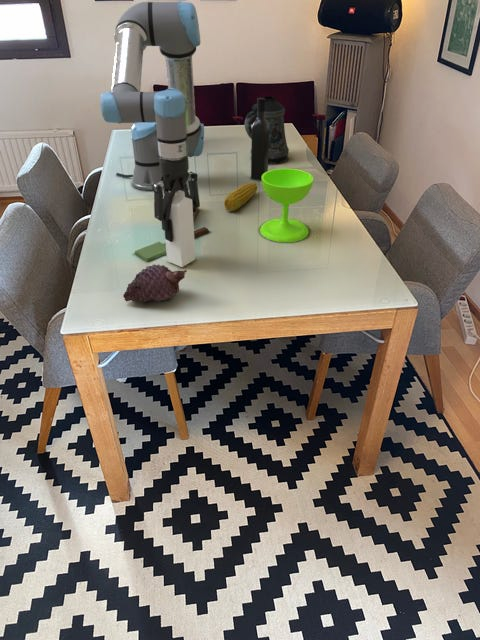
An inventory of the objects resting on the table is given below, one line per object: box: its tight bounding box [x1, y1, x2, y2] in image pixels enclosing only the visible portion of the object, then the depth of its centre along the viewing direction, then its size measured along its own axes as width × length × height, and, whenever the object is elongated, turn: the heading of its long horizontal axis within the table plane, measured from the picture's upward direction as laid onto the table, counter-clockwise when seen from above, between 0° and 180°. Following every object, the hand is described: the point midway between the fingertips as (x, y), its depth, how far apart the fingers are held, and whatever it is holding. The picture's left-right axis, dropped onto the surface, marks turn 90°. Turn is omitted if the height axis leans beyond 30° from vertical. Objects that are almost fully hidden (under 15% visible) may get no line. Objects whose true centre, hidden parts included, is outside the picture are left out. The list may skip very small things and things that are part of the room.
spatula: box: [134, 226, 209, 263], centre depth 161 cm, size 26×6×1 cm, turn 133°
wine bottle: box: [250, 97, 269, 181], centre depth 197 cm, size 6×6×30 cm
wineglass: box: [259, 167, 314, 243], centre depth 163 cm, size 16×16×18 cm
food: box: [223, 182, 258, 212], centre depth 185 cm, size 21×6×6 cm, turn 155°
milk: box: [164, 190, 196, 268], centre depth 145 cm, size 6×6×22 cm
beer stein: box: [244, 96, 290, 165], centre depth 216 cm, size 16×19×25 cm
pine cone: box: [122, 263, 187, 303], centre depth 134 cm, size 18×10×10 cm
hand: (179, 235), depth 147 cm, fingers closed on milk, 7 cm apart
